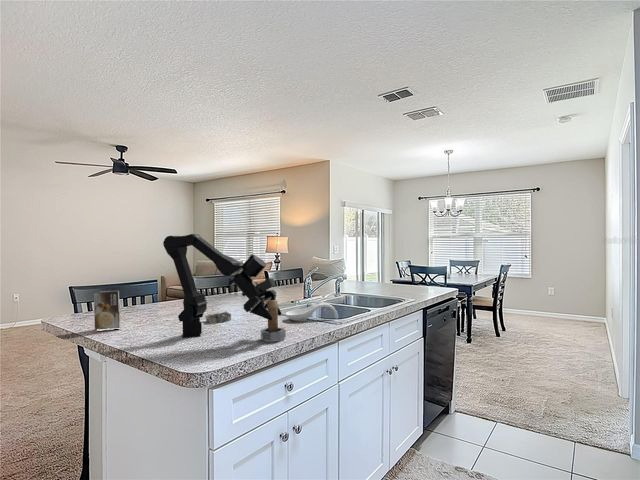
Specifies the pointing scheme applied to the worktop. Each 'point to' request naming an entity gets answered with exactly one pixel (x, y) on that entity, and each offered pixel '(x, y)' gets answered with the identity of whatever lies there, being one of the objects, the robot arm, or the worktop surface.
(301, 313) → the spoon rest
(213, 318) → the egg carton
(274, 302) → the dowel
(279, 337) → the ring
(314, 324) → the worktop surface
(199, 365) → the worktop surface
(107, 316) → the coffee box
